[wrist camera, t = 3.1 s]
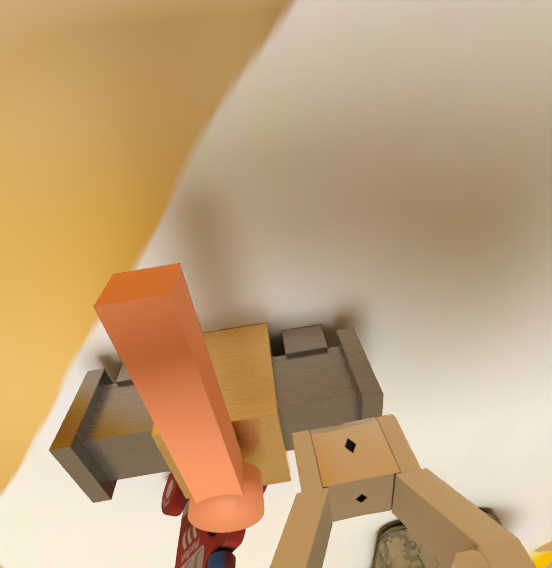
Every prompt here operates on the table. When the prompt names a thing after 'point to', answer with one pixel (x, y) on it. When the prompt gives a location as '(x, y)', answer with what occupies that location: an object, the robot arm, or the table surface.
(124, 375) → the pipe valve
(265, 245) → the table surface
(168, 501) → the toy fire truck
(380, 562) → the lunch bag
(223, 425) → the lever
